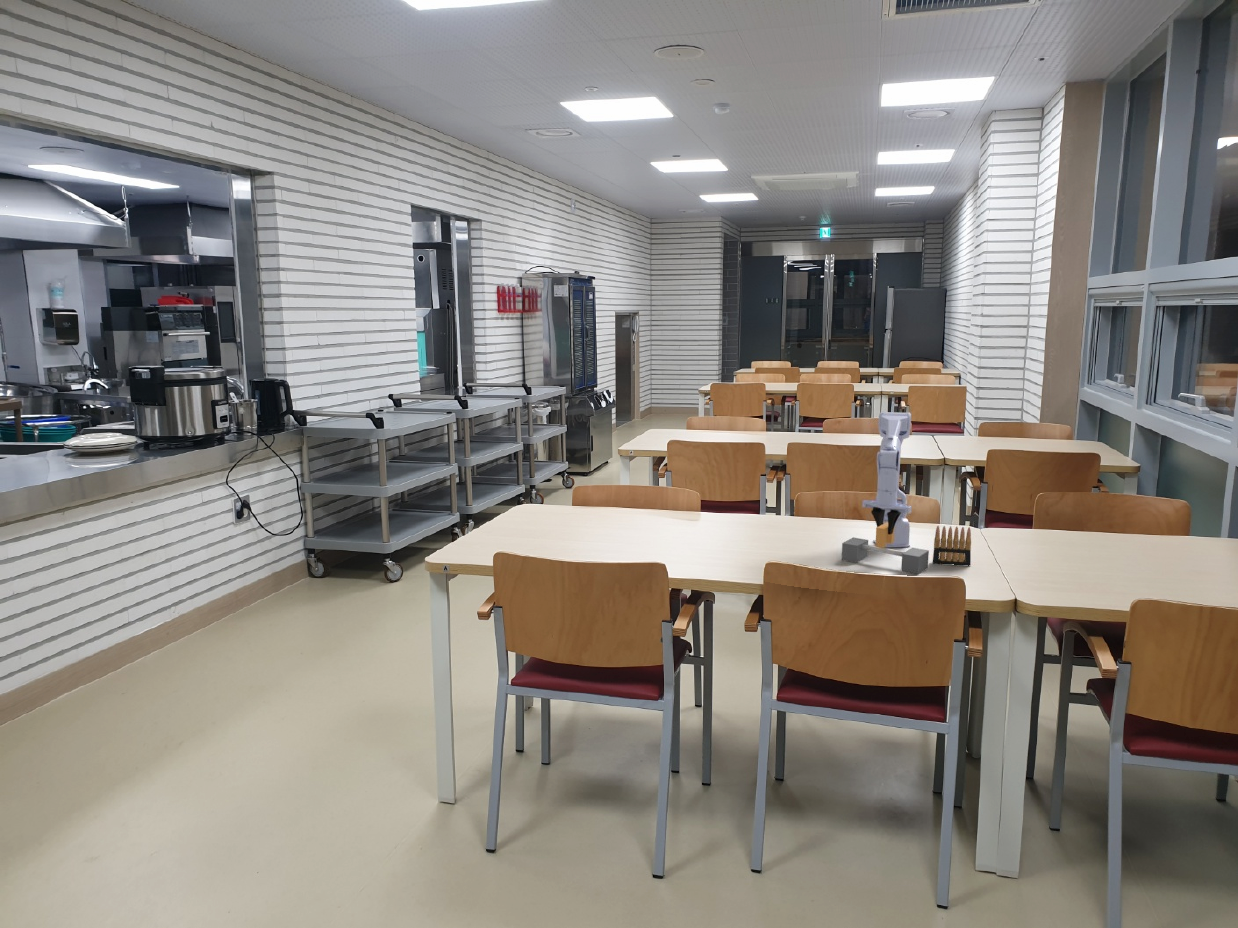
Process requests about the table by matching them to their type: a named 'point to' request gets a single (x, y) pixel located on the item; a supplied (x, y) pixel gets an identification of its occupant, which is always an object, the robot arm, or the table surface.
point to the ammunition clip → (953, 553)
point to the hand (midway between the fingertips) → (885, 532)
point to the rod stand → (911, 559)
